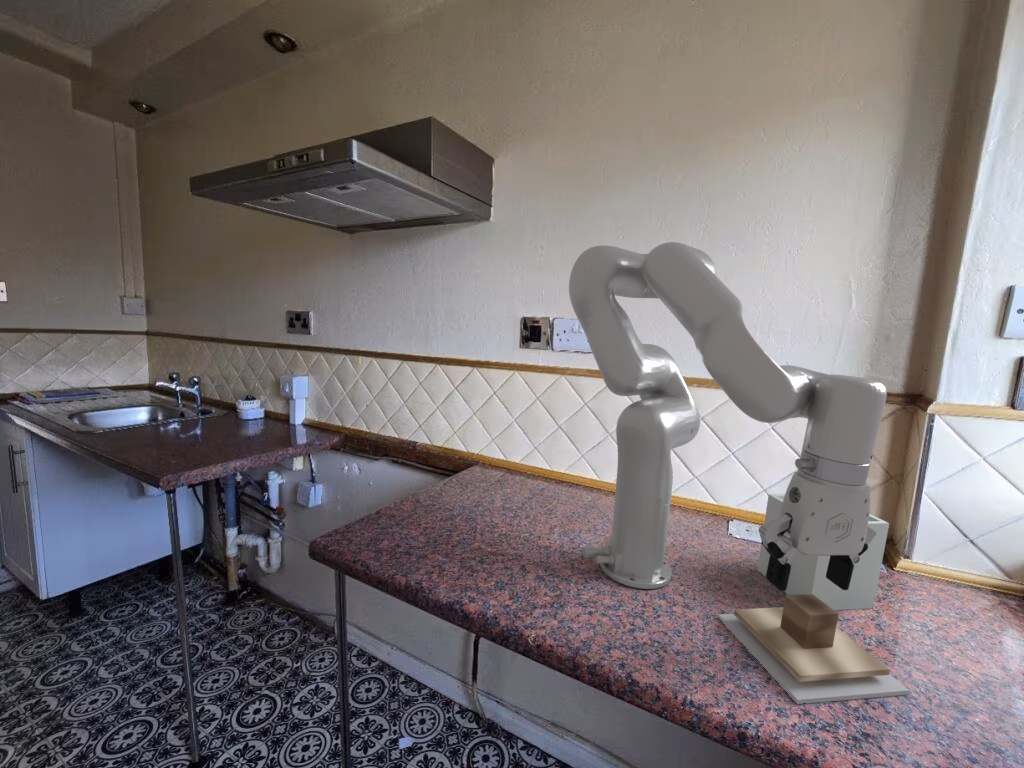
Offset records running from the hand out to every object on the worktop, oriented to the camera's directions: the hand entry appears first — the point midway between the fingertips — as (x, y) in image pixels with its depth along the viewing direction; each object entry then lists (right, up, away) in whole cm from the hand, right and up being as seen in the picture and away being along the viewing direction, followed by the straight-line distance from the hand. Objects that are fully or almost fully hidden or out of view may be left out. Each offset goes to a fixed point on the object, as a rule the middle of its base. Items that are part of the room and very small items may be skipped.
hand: (806, 584), depth 63 cm
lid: (0, -9, +1) cm, 9 cm away
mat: (0, -10, +1) cm, 10 cm away
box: (+12, -8, +17) cm, 23 cm away
